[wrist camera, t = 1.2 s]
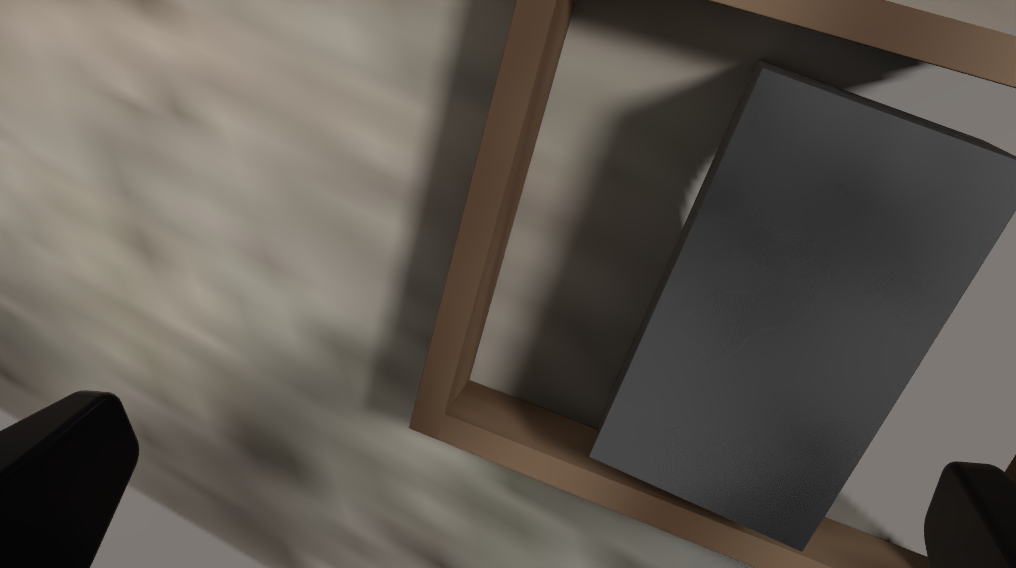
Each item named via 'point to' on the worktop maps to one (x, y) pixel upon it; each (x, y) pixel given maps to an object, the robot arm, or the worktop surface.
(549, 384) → the worktop surface
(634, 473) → the dark gray box
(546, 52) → the walnut box
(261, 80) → the worktop surface
